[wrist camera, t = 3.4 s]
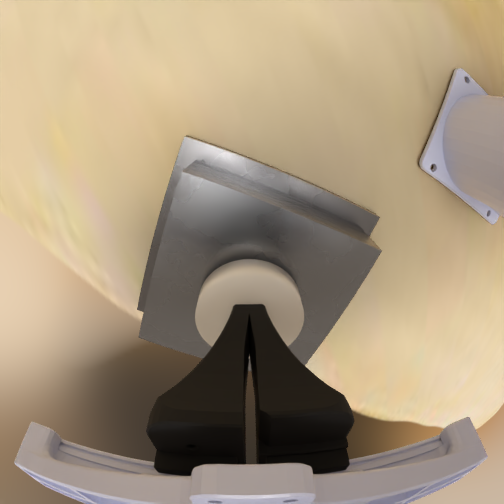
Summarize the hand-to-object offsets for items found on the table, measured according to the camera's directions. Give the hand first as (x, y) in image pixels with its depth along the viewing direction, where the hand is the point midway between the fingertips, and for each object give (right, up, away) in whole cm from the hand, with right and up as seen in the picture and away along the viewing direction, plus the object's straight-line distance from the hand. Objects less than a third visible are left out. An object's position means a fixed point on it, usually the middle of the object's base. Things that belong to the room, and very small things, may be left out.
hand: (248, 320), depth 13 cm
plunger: (0, +2, +4) cm, 5 cm away
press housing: (0, +2, +5) cm, 6 cm away
